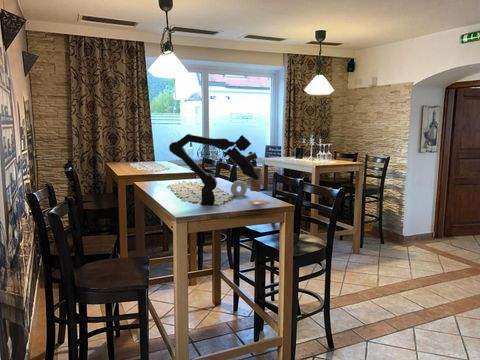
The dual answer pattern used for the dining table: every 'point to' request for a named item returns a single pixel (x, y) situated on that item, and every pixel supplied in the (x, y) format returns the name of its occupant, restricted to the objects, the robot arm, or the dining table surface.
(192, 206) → the dining table surface
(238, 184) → the donut
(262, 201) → the coaster
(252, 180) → the walnut block
